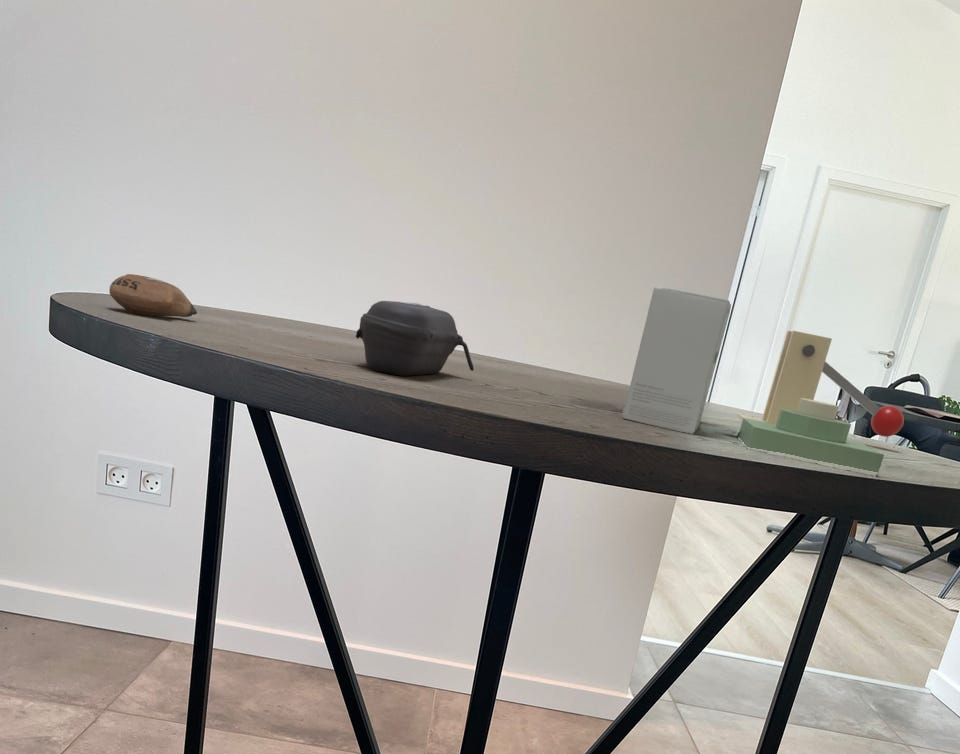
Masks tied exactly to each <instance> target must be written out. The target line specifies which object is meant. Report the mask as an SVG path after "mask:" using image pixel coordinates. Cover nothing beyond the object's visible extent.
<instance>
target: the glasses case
mask: <svg viewBox="0 0 960 754" xmlns="http://www.w3.org/2000/svg"><path fill="white" fill-rule="evenodd" d="M355 338H356V339H361V340H362V342H363V347H364V357H365V362H366V364H367V365H366V366H368V368H369V369H370V370H373V371H376V372H379V373H384V374H389V375H395V376H399V377H407V376H422V375H432V374H438V373H439V372H440V371H442V369H443V368H444V366H445V364H446V362H447V360H448V358H449V357H450V355H451V354H452V353H453V352H454V351H455V349H456V348H457V347H458V346H462V348H463V351H464V355H465V358H466V362H467V365H468V367H469V370H470V371H472V372H474V370H475V369H474V364H473V360H472V357H471V355H470V350H469V346H468V344H467V343H466V342H465V340H464V338H463V336H462V335H460V334H459V333H458V329H457V326H456V321H455V319H454V317H453V316H452V314H451V313H449V312H447V311H445V310H441V309H438V308H435V307H431V306H429V305H427V304H425V303H417V302H409V301H393V300H379V301H377V302H375V303H373V304H372V305H371V306H370V308H369V309H368V311H367V312H366V313H363V314H362V316H361V317H360V320H359V328H358V329H357V330H356V334H355Z"/></svg>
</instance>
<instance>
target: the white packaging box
mask: <svg viewBox="0 0 960 754" xmlns="http://www.w3.org/2000/svg"><path fill="white" fill-rule="evenodd" d="M731 308H732V304H731V302H730V300H729V299H726V298H721V297H716V296H712V295H711V296H710V295H706V294H700V293H696V292H691V291H687V290H681V289H677V288H671V287H666V286H665V287H664V286H654V287H653V290H652V293H651V299H650V302H649V307H648V311H647V314H646V319H645V322H644V327H643V330H642V335H641V339H640V343H639V348H638V351H637V355H636V360H635V364H634V369H633V371H632V376H631V380H630V385H629V388H628V393H627V397H626V401H625V404H624V408H623V414H622V418H623V419H624V420H629V421H632V422H637V423H640V424H645V425H649V426H654V427H658V428H662V429H666V430H671V431H675V432H680V433H683V432H685V433H684V434H688V433H690V434H689V435H693V434H695V431H697V430H698V429H699V427H700V423H701V420H702V416H703V412H704V409H705V406H706V402H707V399H708V394H709V391H710V387H711V383H712V381H713V376H714V373H715V369H716V365H717V361H718V358H719V354H720V350H721V347H722V342H723V339H724V336H725V332H726V328H727V324H728V321H729V316H730V314H731Z"/></svg>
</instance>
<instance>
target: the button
mask: <svg viewBox="0 0 960 754" xmlns="http://www.w3.org/2000/svg"><path fill="white" fill-rule="evenodd" d="M839 408H840V406H839V405H837V404H832V403H828V402H824V401H819V400H815V399H814V400H810V399H805V398H801V399H800V403H799V406H798V410H797V413H800V414H804V415H808V416H812V417H817V418H821V419H826V420H832V421H835V419H836V417H837V415H838V411H839Z"/></svg>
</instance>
